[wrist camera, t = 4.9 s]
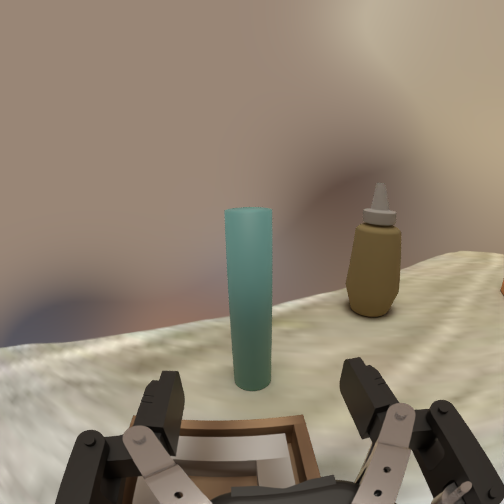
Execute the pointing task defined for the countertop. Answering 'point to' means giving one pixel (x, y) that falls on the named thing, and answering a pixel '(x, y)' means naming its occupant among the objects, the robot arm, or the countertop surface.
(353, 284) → the squeeze bottle
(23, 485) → the countertop surface
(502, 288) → the whiskey bottle
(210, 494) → the tray
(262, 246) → the dowel
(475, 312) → the countertop surface
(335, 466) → the countertop surface
